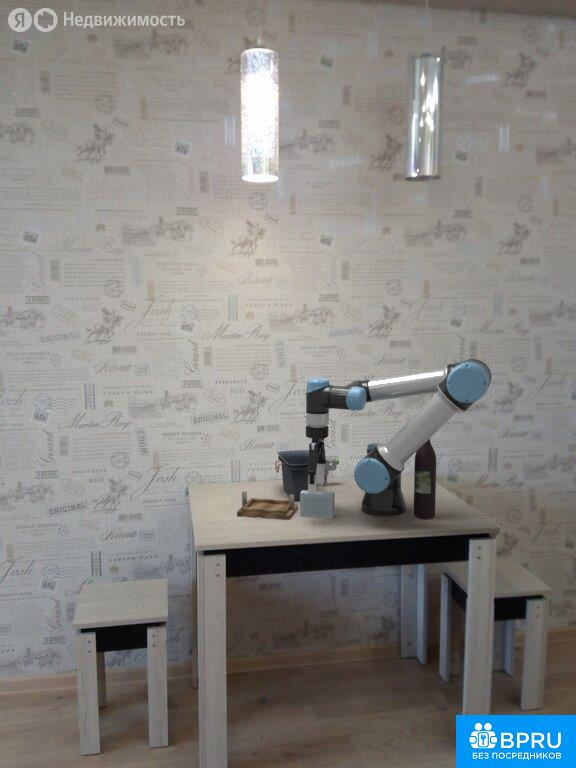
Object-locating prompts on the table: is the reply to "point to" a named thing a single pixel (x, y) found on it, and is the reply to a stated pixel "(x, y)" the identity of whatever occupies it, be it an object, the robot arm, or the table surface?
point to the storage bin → (294, 471)
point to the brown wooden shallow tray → (267, 507)
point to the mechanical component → (329, 468)
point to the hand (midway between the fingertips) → (316, 487)
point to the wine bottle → (425, 482)
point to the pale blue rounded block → (317, 504)
